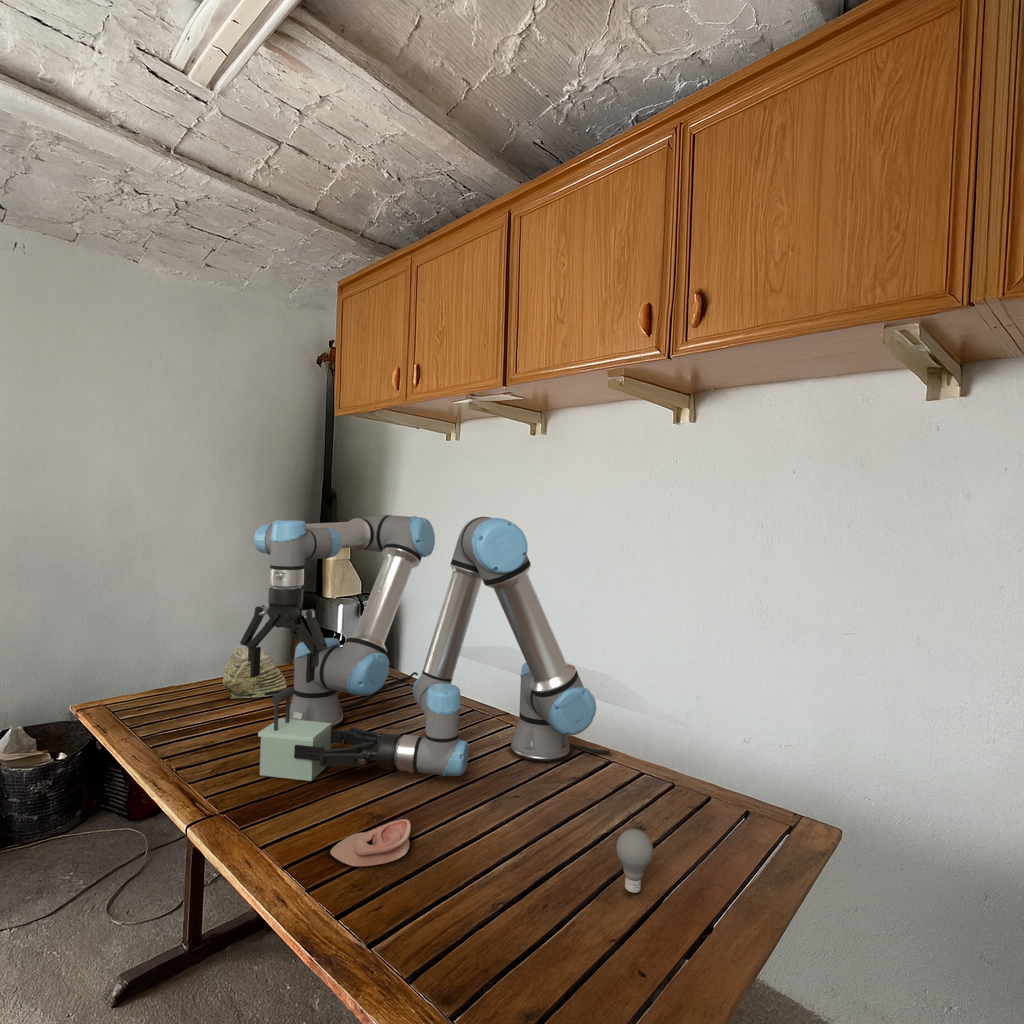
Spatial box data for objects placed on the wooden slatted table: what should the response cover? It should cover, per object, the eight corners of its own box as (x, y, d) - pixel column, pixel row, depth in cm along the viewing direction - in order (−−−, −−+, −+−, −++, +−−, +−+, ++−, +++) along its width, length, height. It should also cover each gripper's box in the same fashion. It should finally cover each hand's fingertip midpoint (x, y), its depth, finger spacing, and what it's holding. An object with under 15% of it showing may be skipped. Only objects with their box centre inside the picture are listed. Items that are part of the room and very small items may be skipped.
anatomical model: (322, 838, 110) (352, 807, 121) (321, 861, 110) (351, 828, 121) (394, 850, 107) (417, 817, 119) (393, 873, 107) (416, 838, 119)
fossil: (218, 695, 195) (220, 647, 195) (278, 685, 208) (279, 640, 207) (228, 703, 189) (230, 653, 188) (289, 692, 201) (290, 645, 201)
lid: (258, 736, 142) (259, 696, 142) (279, 722, 152) (281, 684, 152) (312, 742, 141) (314, 701, 140) (331, 727, 150) (332, 688, 150)
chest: (259, 775, 142) (260, 737, 142) (281, 758, 152) (282, 722, 152) (311, 781, 141) (312, 742, 141) (330, 763, 150) (331, 727, 150)
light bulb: (610, 879, 108) (613, 822, 108) (644, 879, 109) (647, 822, 109) (619, 902, 102) (622, 840, 102) (655, 901, 103) (658, 840, 103)
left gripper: (226, 585, 144) (222, 678, 144) (330, 592, 140) (326, 687, 141) (245, 581, 151) (241, 669, 152) (344, 588, 148) (340, 678, 148)
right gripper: (381, 790, 132) (280, 779, 135) (413, 749, 154) (326, 740, 157) (383, 755, 132) (282, 744, 135) (414, 719, 154) (327, 710, 157)
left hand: (282, 678), depth 146 cm, fingers open, 13 cm apart
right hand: (305, 742), depth 146 cm, fingers closed on chest, 10 cm apart
